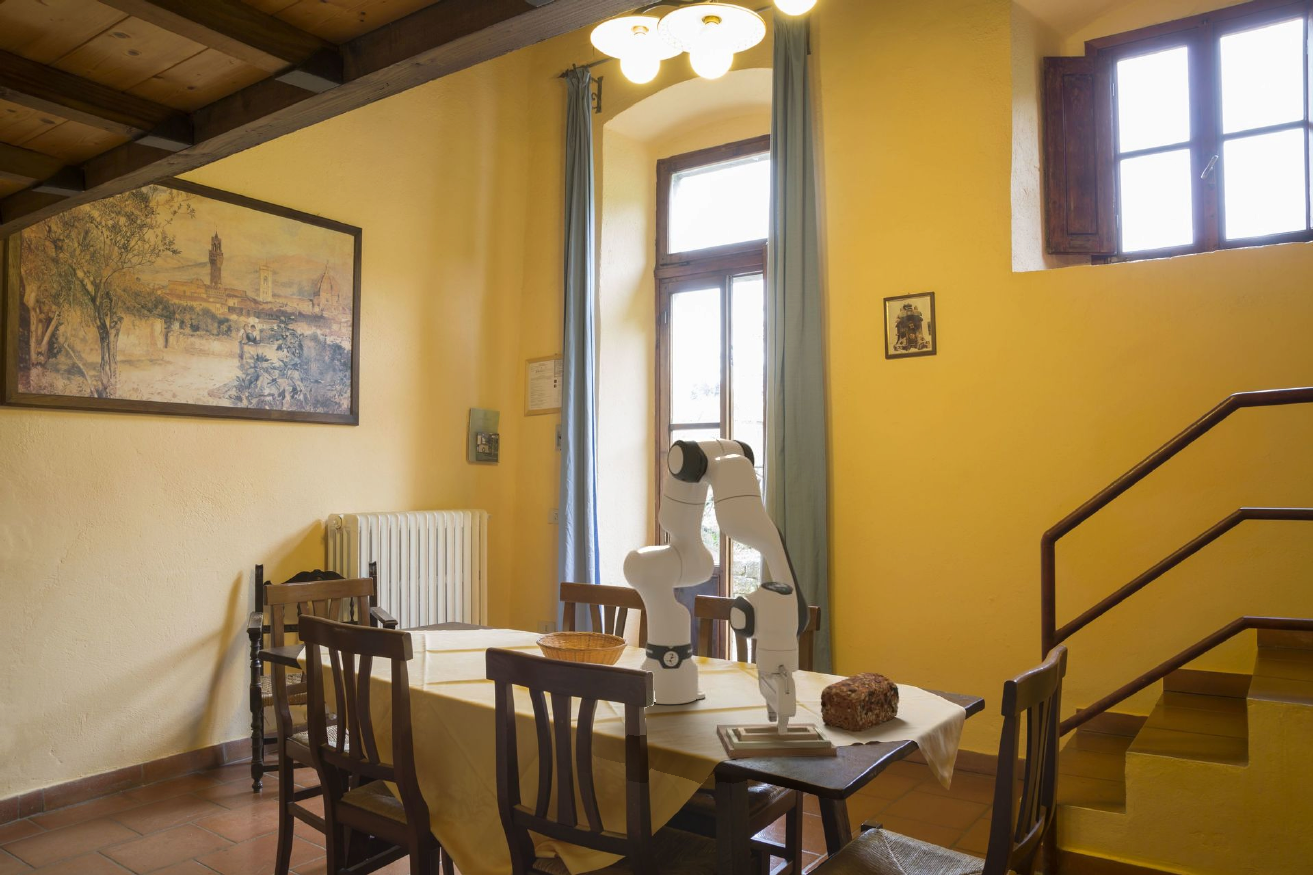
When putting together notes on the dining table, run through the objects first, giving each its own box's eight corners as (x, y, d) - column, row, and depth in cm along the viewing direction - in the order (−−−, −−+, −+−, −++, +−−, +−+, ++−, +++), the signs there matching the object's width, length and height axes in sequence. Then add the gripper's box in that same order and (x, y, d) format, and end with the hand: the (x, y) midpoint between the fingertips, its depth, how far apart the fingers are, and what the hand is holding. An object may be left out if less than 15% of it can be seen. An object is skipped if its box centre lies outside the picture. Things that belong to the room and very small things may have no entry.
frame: (736, 736, 186) (736, 726, 186) (810, 735, 187) (810, 725, 187) (741, 745, 180) (741, 735, 180) (818, 743, 181) (818, 734, 181)
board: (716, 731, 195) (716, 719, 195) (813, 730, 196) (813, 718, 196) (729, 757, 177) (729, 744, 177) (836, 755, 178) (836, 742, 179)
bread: (862, 709, 215) (862, 668, 215) (901, 718, 207) (901, 675, 208) (818, 724, 202) (818, 680, 202) (858, 734, 194) (858, 688, 195)
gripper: (803, 671, 174) (803, 742, 174) (781, 651, 195) (781, 714, 194) (772, 672, 174) (772, 742, 173) (753, 651, 194) (753, 714, 194)
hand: (777, 727), depth 184 cm, fingers open, 8 cm apart
